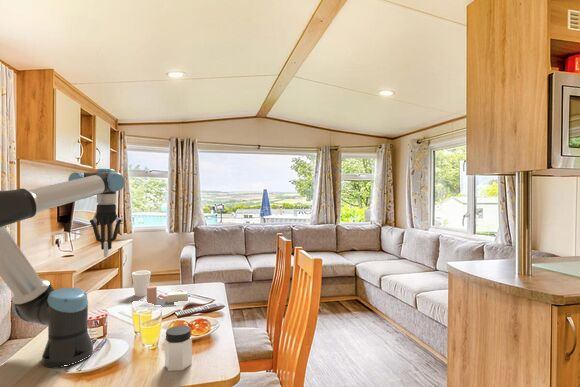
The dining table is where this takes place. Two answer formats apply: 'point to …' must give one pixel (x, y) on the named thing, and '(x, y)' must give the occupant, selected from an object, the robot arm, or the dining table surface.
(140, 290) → the foam cup
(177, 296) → the cream pillar
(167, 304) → the mat
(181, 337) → the jar
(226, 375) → the dining table surface
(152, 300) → the brick pillar
